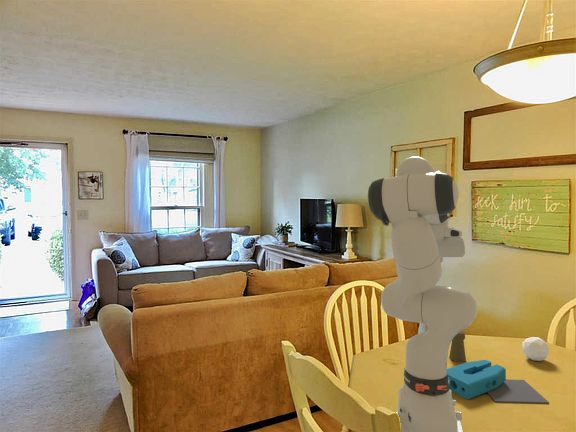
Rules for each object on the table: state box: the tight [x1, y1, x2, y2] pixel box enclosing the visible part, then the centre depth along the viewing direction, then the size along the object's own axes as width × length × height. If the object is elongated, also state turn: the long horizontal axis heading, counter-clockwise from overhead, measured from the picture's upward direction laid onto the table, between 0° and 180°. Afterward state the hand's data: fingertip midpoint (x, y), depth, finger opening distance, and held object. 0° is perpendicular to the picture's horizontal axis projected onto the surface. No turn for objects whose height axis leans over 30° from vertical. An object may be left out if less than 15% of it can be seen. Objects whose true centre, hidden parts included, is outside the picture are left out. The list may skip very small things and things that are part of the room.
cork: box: [448, 330, 467, 363], centre depth 157 cm, size 6×6×11 cm
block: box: [447, 359, 507, 400], centre depth 135 cm, size 12×5×20 cm
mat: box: [486, 378, 550, 404], centre depth 131 cm, size 15×16×1 cm
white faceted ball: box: [521, 336, 550, 362], centre depth 157 cm, size 9×9×12 cm
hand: (434, 269), depth 146 cm, fingers closed
